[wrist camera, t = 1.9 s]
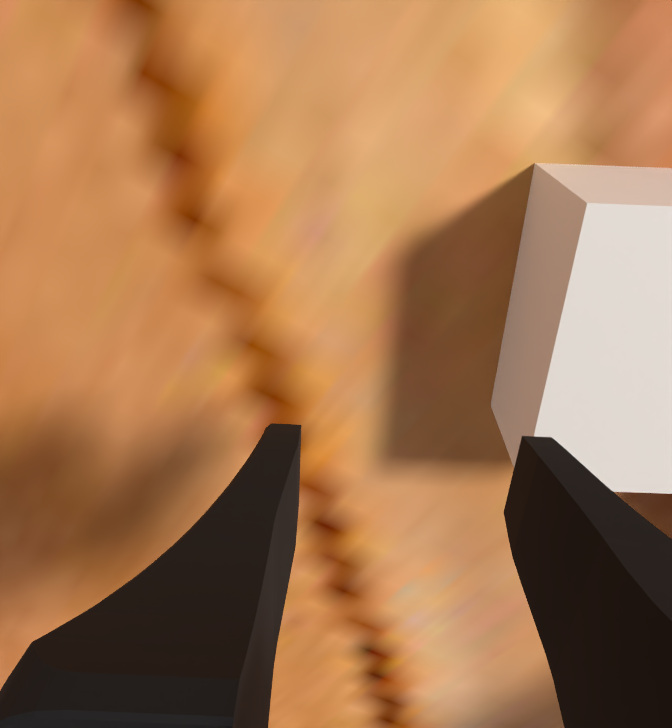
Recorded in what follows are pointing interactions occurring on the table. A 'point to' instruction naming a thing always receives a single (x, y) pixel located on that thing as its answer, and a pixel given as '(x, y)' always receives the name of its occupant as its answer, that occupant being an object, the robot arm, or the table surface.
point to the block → (593, 323)
